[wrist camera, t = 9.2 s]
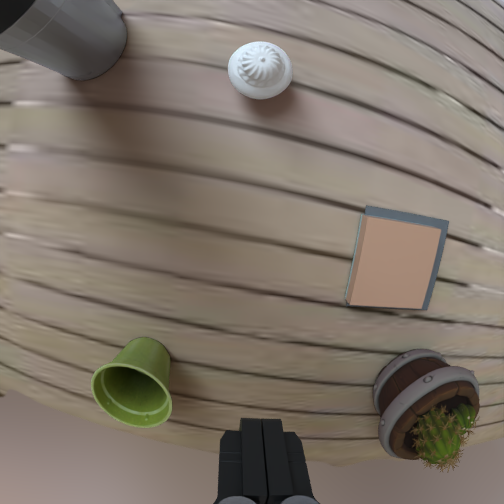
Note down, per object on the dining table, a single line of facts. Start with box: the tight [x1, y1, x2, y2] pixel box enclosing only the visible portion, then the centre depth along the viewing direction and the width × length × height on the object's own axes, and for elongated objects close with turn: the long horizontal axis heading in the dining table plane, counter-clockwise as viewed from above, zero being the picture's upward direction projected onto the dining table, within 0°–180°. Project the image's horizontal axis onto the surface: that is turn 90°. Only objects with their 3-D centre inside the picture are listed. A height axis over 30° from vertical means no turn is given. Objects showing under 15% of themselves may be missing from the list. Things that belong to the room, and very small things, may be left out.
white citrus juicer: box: [228, 42, 293, 99], centre depth 27 cm, size 6×6×7 cm
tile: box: [345, 214, 441, 309], centre depth 35 cm, size 10×2×10 cm
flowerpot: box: [373, 349, 480, 471], centre depth 31 cm, size 14×15×20 cm
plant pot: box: [91, 337, 172, 428], centre depth 34 cm, size 9×9×9 cm
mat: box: [346, 206, 449, 310], centre depth 36 cm, size 12×12×1 cm
